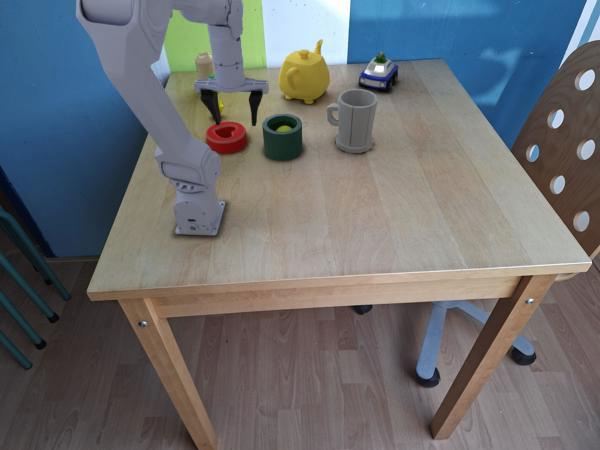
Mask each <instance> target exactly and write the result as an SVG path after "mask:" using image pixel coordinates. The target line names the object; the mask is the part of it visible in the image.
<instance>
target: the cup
mask: <svg viewBox="0 0 600 450" xmlns="http://www.w3.org/2000/svg"><path fill="white" fill-rule="evenodd" d="M378 102H379V98H378V96H377V94H375V93H374V92H372V91H370V90H368V89H363V88H351V89H346V90H344V91H341V93H339V95H338V97H337V103H330V104H329V105H328V106H327V107H326V121H327V123H328V124H329V125H330V126H333V127H337V135H336V137H335V144H336V146H337V148H338V149H340V150H341V151H343V152H345V153H349V154H361V153H365V152H367V151H369V150H370V149H371V148H372V147H373V143H374V139H373V135H372V134H373V128H374V121H375V116H376V112H377V107H378ZM333 112H337V113H338V117H337V118H338V119H336V117H335V116H334V114H333Z"/></svg>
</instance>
